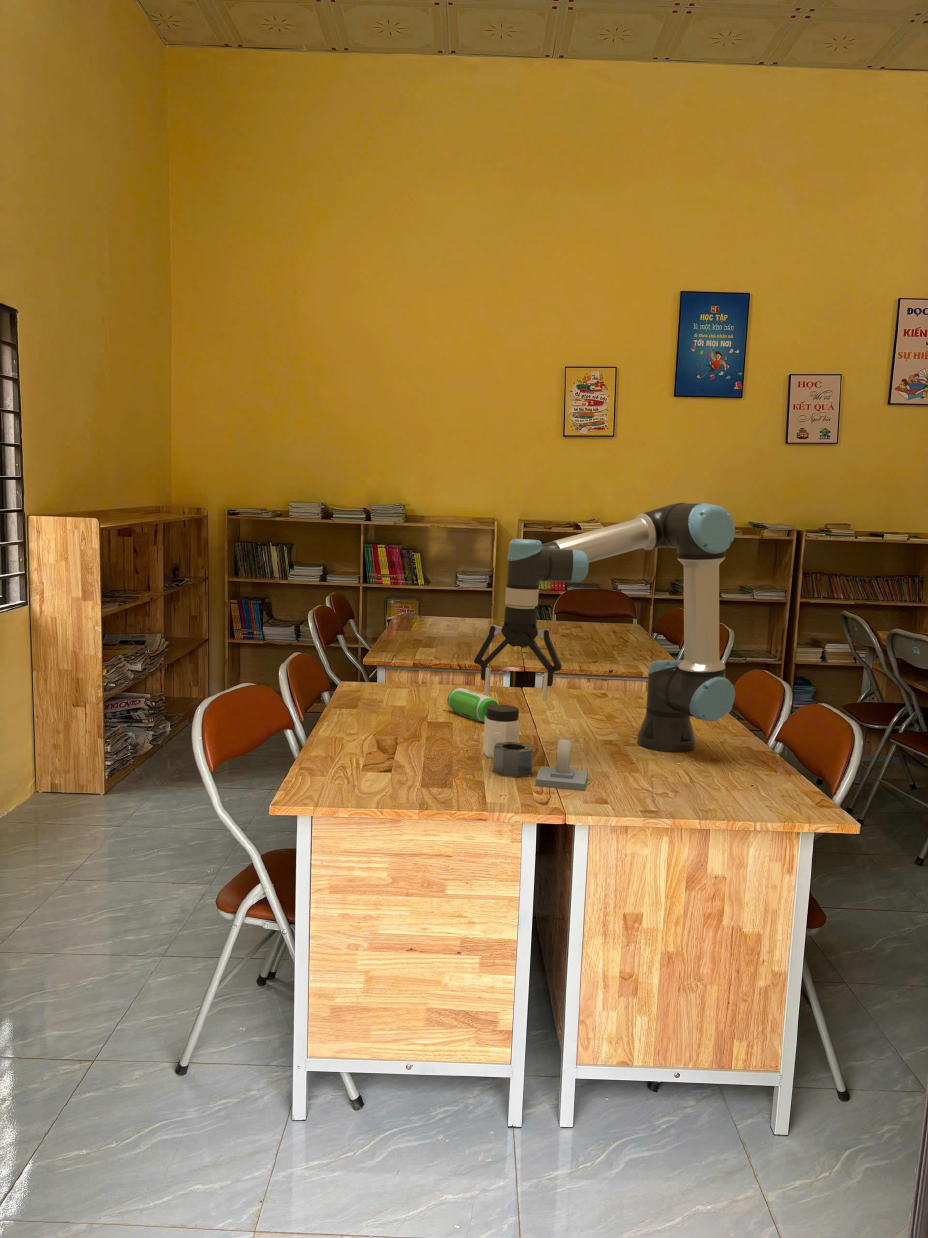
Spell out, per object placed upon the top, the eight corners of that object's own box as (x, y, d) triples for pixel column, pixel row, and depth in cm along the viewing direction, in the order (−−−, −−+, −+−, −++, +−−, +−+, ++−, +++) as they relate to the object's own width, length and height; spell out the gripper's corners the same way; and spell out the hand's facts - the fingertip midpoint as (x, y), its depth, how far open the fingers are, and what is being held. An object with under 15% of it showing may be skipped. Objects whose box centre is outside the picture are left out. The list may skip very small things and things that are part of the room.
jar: (478, 756, 243) (480, 709, 241) (487, 749, 250) (489, 703, 249) (513, 761, 240) (516, 713, 239) (521, 753, 248) (524, 706, 246)
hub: (533, 768, 234) (534, 744, 234) (528, 778, 226) (530, 753, 225) (496, 765, 236) (498, 740, 235) (491, 775, 227) (492, 749, 226)
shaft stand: (587, 777, 229) (590, 737, 228) (584, 790, 218) (587, 749, 217) (540, 772, 231) (542, 733, 230) (535, 785, 220) (537, 744, 219)
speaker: (500, 722, 281) (501, 697, 280) (479, 725, 277) (481, 699, 276) (465, 710, 295) (466, 685, 294) (445, 712, 291) (446, 687, 290)
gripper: (576, 608, 227) (570, 698, 230) (470, 601, 232) (466, 689, 234) (574, 612, 220) (567, 705, 223) (465, 604, 224) (460, 695, 227)
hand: (515, 697), depth 228 cm, fingers open, 13 cm apart
